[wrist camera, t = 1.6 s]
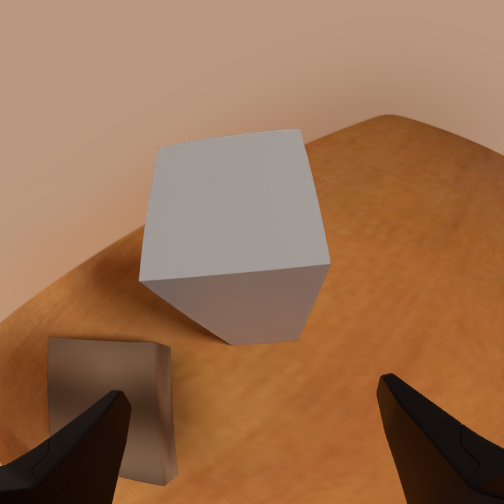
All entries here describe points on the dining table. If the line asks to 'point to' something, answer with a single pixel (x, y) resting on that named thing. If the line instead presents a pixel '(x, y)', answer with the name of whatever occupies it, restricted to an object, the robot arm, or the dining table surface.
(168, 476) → the walnut stand
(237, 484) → the dining table surface
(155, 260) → the block
